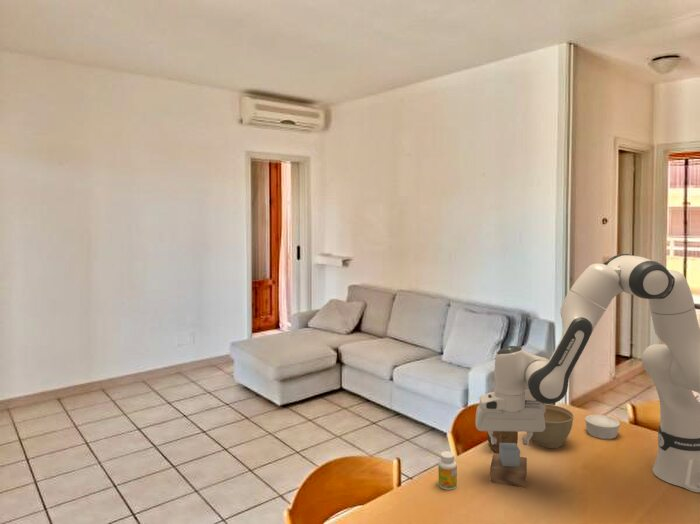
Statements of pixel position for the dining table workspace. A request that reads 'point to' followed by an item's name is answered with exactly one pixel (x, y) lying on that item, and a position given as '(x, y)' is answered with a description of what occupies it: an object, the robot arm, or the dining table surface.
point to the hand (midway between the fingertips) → (509, 444)
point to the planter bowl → (554, 427)
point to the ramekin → (602, 426)
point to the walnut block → (508, 472)
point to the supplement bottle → (447, 471)
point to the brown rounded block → (503, 438)
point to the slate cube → (509, 454)
